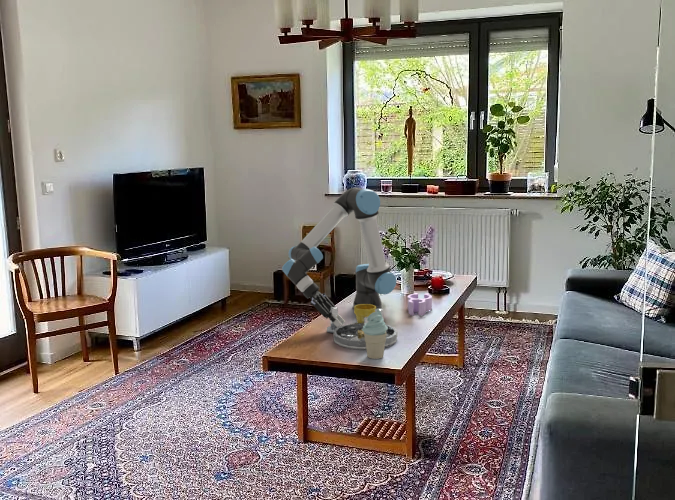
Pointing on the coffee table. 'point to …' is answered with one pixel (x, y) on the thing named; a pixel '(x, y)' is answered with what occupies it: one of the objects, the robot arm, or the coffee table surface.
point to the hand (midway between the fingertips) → (341, 324)
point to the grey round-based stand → (331, 328)
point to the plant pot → (363, 311)
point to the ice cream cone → (375, 335)
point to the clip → (419, 304)
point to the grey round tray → (360, 335)
